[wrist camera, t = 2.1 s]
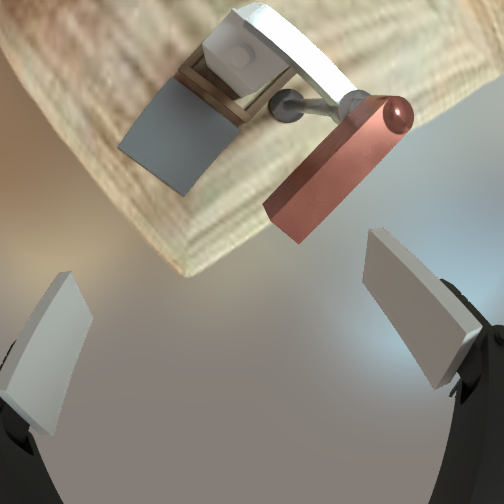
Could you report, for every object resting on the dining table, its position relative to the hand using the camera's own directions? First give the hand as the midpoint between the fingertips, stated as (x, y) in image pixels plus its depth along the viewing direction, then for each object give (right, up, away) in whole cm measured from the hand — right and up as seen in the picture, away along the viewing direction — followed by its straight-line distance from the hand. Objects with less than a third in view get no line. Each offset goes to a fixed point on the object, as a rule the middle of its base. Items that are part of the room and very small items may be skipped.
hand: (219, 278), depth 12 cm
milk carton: (0, +28, +23) cm, 36 cm away
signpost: (+1, +22, +25) cm, 33 cm away
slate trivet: (-9, +18, +26) cm, 33 cm away
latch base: (+7, +23, +26) cm, 35 cm away
